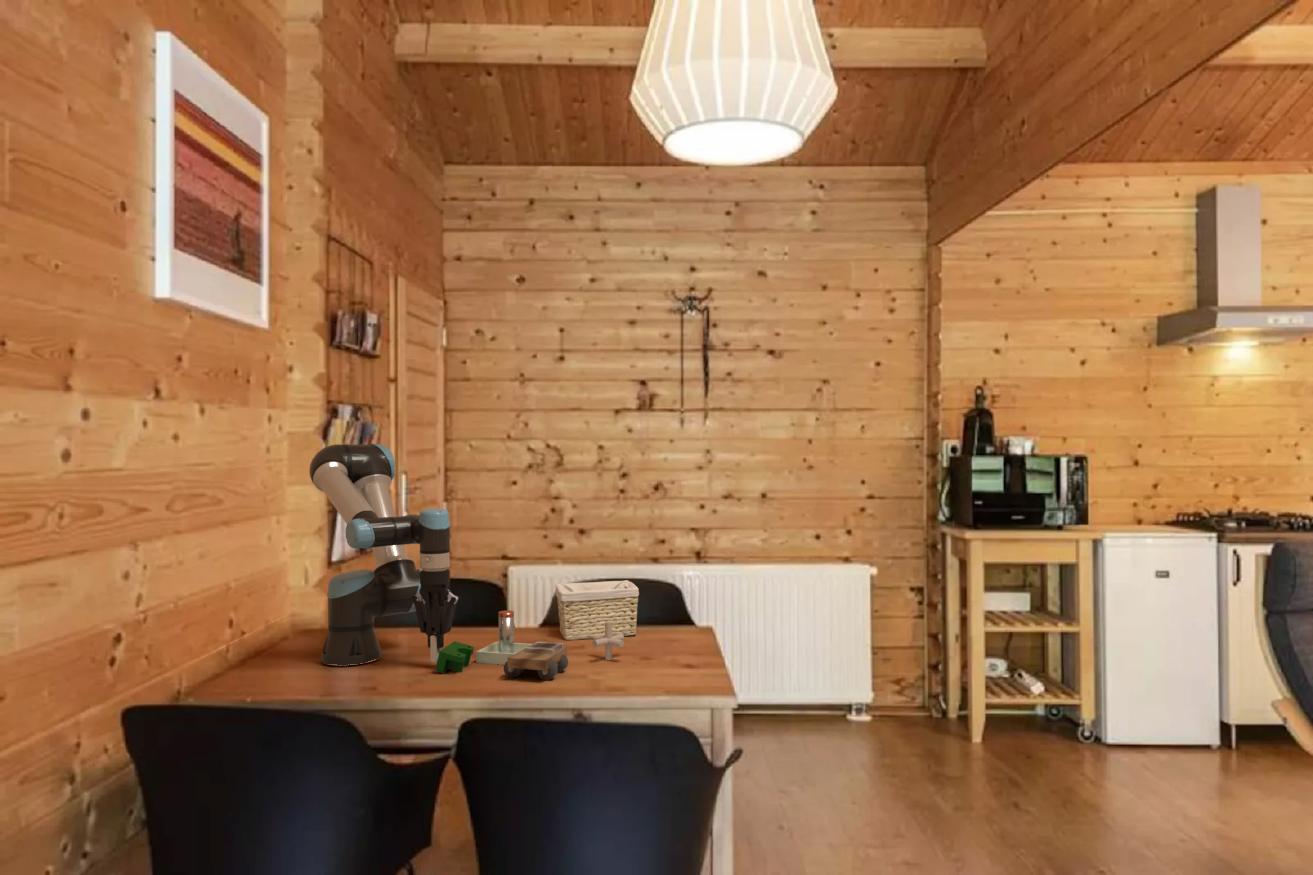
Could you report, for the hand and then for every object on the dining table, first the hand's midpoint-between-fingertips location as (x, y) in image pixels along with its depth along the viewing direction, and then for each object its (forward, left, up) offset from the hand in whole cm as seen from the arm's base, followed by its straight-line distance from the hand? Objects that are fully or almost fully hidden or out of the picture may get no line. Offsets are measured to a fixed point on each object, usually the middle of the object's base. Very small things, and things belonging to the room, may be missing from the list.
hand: (435, 660), depth 223 cm
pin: (+14, +12, -1) cm, 19 cm away
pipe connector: (+41, +18, -2) cm, 45 cm away
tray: (+14, +12, -2) cm, 19 cm away
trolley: (+28, 0, -2) cm, 29 cm away
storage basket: (+27, +47, -2) cm, 55 cm away
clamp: (+6, 0, -2) cm, 6 cm away
